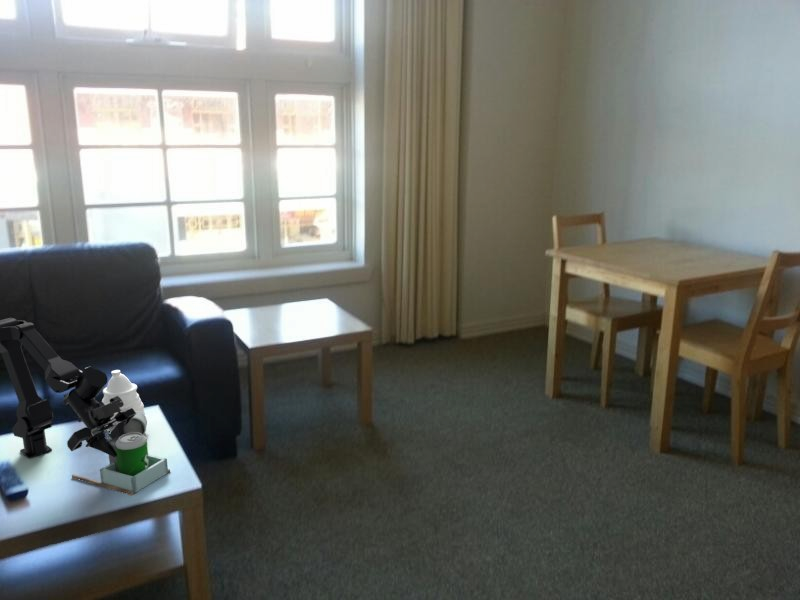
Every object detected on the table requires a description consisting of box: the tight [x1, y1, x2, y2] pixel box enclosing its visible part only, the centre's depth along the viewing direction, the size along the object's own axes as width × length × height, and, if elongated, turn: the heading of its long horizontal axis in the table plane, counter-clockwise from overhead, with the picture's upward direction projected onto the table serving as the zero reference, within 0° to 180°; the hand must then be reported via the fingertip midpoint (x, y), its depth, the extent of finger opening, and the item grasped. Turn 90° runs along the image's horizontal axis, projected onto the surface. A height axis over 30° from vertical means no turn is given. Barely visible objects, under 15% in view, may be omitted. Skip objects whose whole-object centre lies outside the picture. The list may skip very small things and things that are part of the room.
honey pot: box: [101, 369, 146, 432], centre depth 208 cm, size 13×13×18 cm
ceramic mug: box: [108, 411, 148, 440], centre depth 199 cm, size 11×8×8 cm
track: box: [71, 468, 171, 496], centre depth 177 cm, size 22×13×1 cm, turn 65°
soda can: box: [116, 432, 149, 476], centre depth 174 cm, size 8×8×12 cm
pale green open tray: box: [99, 437, 169, 494], centre depth 174 cm, size 13×12×10 cm
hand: (121, 453), depth 175 cm, fingers closed on pale green open tray, 3 cm apart
